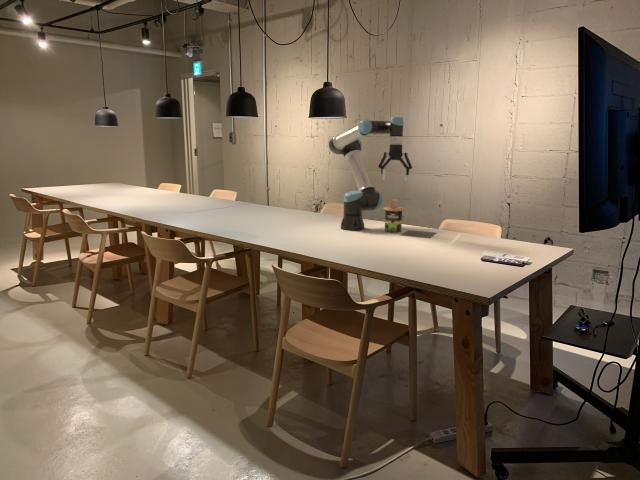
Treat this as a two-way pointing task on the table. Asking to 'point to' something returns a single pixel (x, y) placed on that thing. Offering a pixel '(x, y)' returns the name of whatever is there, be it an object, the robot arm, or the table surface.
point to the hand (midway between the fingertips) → (394, 180)
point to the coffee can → (393, 221)
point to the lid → (394, 206)
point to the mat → (418, 234)
